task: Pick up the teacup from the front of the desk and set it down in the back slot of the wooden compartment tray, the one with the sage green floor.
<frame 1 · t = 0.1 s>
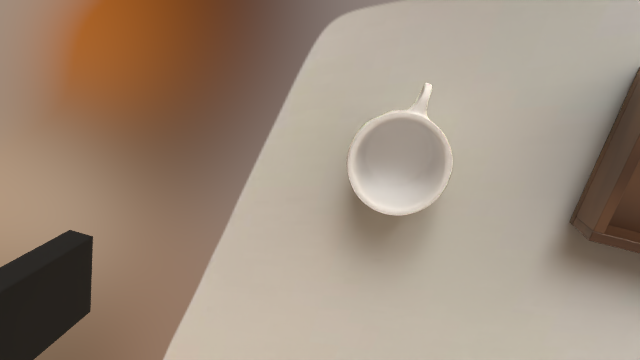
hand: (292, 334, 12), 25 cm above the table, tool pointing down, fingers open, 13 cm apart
teacup: (402, 138, 35), on the table
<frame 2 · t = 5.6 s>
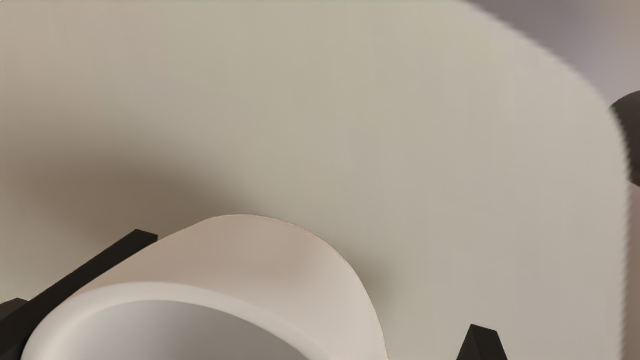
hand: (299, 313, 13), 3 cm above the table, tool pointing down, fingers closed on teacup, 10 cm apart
teacup: (303, 306, 13), point 2 cm above the table, touching gripper
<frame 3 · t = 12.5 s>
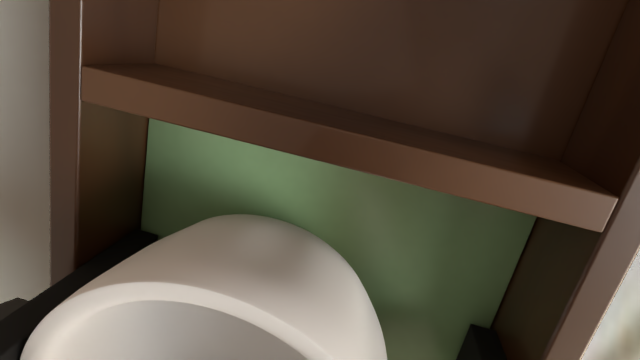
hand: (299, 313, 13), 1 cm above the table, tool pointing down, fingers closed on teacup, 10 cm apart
wooden compartment tray: (346, 120, 12), on the table
teacup: (303, 306, 13), point 1 cm above the table, touching gripper
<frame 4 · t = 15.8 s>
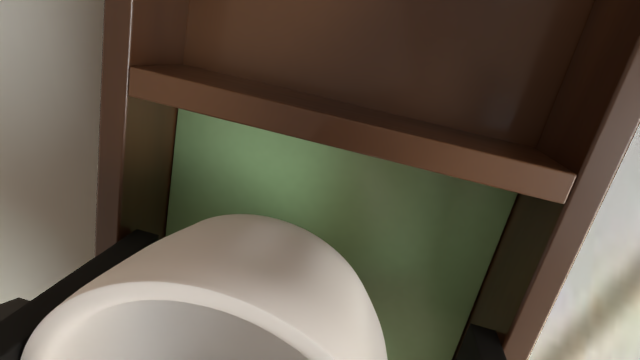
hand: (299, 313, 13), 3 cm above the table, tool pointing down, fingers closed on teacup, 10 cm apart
wooden compartment tray: (351, 114, 14), on the table
teacup: (303, 305, 13), point 2 cm above the table, touching gripper
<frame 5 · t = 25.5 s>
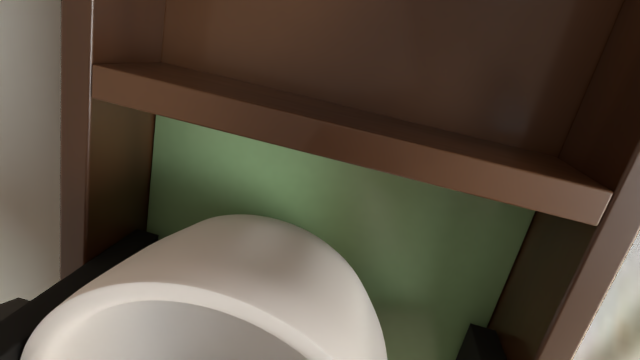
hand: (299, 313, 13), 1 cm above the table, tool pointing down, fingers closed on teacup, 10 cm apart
wooden compartment tray: (349, 118, 12), on the table
teacup: (303, 306, 13), point 1 cm above the table, touching gripper
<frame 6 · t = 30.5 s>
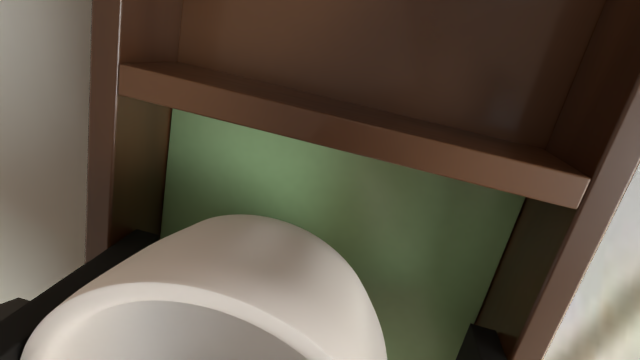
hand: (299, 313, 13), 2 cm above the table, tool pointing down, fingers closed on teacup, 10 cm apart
wooden compartment tray: (352, 113, 13), on the table
teacup: (303, 306, 13), point 2 cm above the table, touching gripper
when the fingers open (4 cm above the table, at t = 34.9 s): teacup drops 3 cm, resting on wooden compartment tray.
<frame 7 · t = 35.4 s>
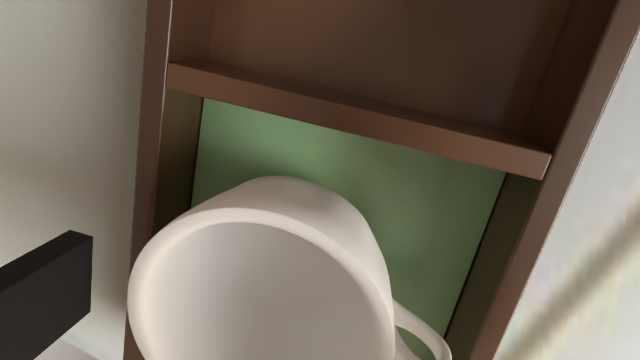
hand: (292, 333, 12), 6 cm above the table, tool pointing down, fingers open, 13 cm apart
wooden compartment tray: (357, 105, 15), on the table
teacup: (322, 255, 17), point 1 cm above the table, touching wooden compartment tray
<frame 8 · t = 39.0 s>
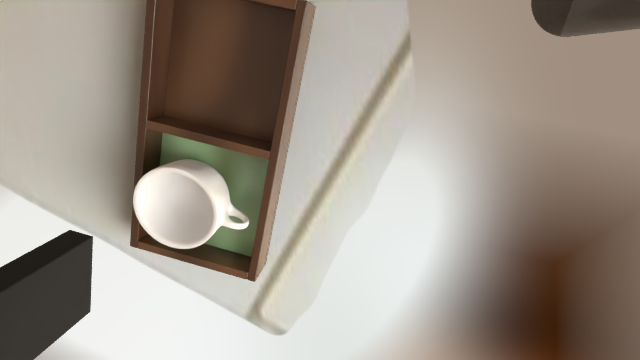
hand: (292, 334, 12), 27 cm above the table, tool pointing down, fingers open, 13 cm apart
wooden compartment tray: (222, 132, 39), on the table
teacup: (212, 193, 40), point 1 cm above the table, touching wooden compartment tray
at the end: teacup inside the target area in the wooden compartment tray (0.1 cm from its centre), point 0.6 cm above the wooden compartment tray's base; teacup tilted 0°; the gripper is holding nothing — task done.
